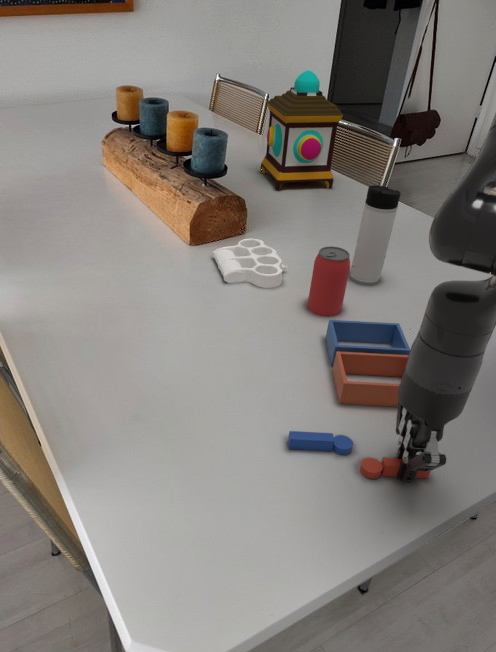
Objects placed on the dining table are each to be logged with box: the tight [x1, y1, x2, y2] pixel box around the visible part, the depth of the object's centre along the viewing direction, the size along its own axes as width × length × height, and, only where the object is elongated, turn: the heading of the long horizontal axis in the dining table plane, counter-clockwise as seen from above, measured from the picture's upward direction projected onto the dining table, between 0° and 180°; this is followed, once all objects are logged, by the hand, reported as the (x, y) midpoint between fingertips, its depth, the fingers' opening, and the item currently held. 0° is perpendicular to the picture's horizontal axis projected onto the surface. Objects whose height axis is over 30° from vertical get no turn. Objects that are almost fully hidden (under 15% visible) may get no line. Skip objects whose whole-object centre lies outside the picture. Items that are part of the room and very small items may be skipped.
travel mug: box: [349, 185, 402, 286], centre depth 110 cm, size 6×7×20 cm
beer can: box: [307, 246, 351, 317], centre depth 102 cm, size 7×7×12 cm
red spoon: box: [359, 456, 431, 480], centre depth 72 cm, size 9×3×2 cm, turn 88°
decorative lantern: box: [260, 69, 344, 192], centre depth 156 cm, size 20×20×30 cm
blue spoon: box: [287, 430, 354, 456], centre depth 75 cm, size 9×3×2 cm, turn 88°
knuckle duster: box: [212, 238, 289, 289], centre depth 117 cm, size 3×18×15 cm
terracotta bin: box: [331, 351, 409, 408], centre depth 85 cm, size 12×8×4 cm
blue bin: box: [324, 319, 411, 367], centre depth 92 cm, size 12×8×4 cm
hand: (402, 474), depth 72 cm, fingers closed on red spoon, 1 cm apart
